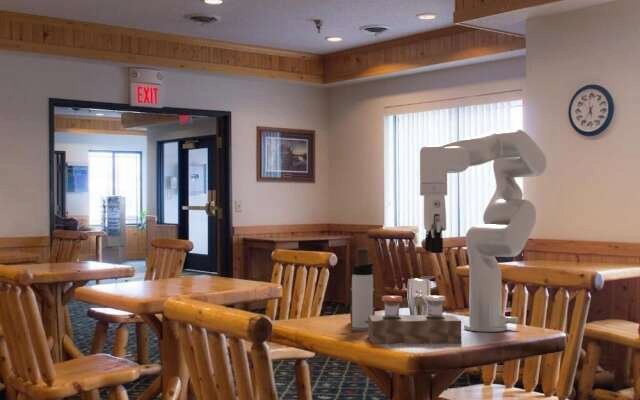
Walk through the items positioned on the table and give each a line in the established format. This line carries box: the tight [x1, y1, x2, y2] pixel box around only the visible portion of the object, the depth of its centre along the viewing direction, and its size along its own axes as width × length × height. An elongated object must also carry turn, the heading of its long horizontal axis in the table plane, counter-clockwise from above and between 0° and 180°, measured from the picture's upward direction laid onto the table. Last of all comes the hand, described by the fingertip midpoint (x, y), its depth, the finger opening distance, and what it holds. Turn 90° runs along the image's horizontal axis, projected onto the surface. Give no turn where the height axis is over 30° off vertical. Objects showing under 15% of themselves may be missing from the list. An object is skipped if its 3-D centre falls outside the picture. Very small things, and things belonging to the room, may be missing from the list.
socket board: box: [367, 314, 462, 345], centre depth 210 cm, size 24×12×6 cm, turn 91°
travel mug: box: [351, 262, 375, 332], centre depth 228 cm, size 6×7×20 cm
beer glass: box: [406, 278, 431, 315], centre depth 229 cm, size 7×7×15 cm
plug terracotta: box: [381, 295, 403, 319], centre depth 210 cm, size 6×6×8 cm
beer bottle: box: [349, 247, 376, 324], centre depth 243 cm, size 8×8×24 cm
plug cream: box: [425, 295, 446, 319], centre depth 210 cm, size 6×6×8 cm
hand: (433, 252), depth 210 cm, fingers open, 9 cm apart
